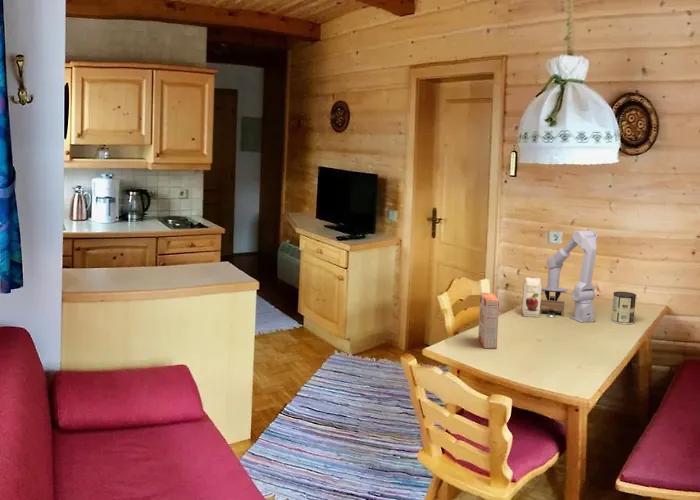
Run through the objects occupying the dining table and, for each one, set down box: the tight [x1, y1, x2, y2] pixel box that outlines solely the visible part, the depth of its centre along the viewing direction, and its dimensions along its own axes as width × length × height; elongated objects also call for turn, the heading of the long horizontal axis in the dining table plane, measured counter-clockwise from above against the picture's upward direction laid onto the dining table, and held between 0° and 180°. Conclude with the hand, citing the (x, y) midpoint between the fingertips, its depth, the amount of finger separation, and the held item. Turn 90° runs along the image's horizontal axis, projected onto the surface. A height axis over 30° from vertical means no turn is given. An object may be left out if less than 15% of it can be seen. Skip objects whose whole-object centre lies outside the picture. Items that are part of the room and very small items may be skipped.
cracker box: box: [477, 292, 500, 350], centre depth 281 cm, size 14×6×21 cm, turn 178°
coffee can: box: [610, 291, 637, 325], centre depth 324 cm, size 10×10×14 cm
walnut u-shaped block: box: [539, 299, 566, 317], centre depth 336 cm, size 8×12×6 cm
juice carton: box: [521, 276, 543, 318], centre depth 330 cm, size 8×9×19 cm
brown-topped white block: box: [547, 295, 555, 315], centre depth 340 cm, size 15×3×7 cm, turn 163°
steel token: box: [546, 313, 556, 319], centre depth 331 cm, size 4×4×1 cm
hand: (551, 305), depth 346 cm, fingers closed on brown-topped white block, 2 cm apart
